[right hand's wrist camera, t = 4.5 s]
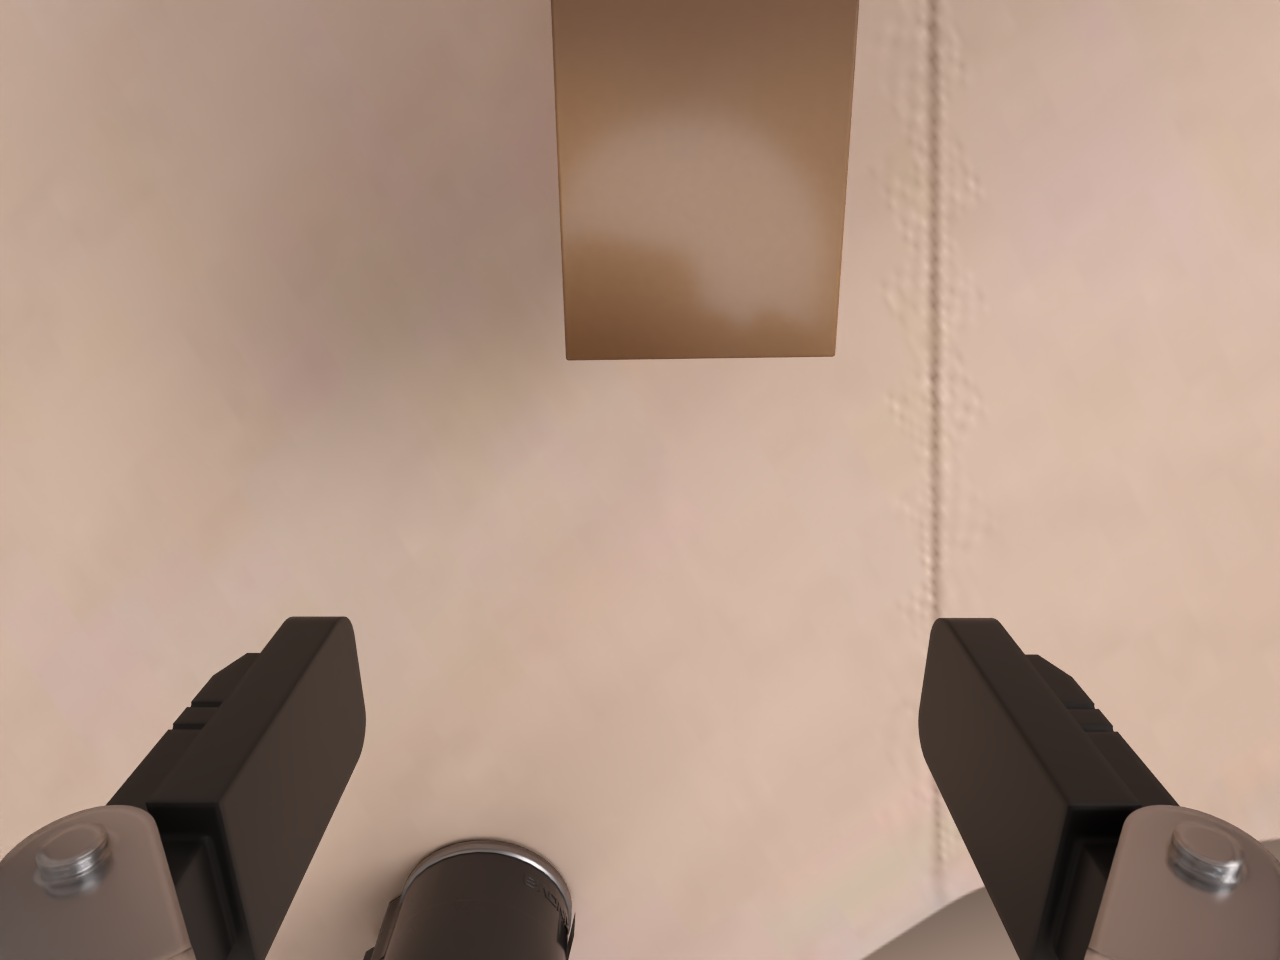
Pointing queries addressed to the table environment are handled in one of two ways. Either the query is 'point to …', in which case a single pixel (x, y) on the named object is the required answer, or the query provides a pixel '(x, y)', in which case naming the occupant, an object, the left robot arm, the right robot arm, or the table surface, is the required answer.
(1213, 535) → the table surface
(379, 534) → the table surface
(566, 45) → the box
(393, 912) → the right robot arm
